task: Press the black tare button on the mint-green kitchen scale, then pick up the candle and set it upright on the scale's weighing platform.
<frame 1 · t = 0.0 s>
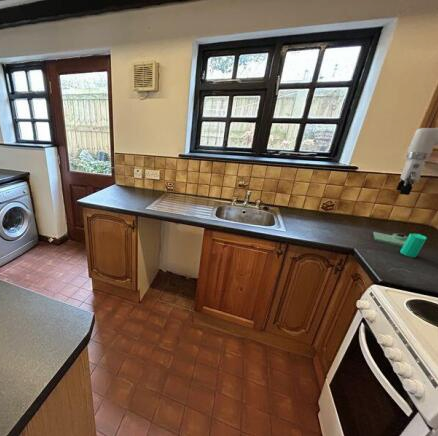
hand: (402, 192, 118), 31 cm above the countertop, tool pointing down, fingers open, 9 cm apart
scale: (389, 240, 138), on the countertop
tare button: (400, 234, 138), point 4 cm above the countertop, slide at 0.1 cm
candle: (407, 254, 124), on the countertop
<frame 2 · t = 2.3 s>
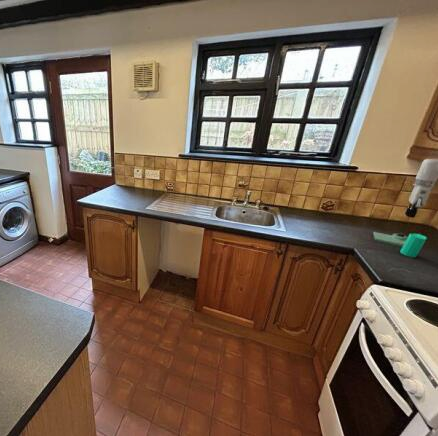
hand: (409, 215, 133), 15 cm above the countertop, tool pointing down, fingers closed
nothing on the countertop moved.
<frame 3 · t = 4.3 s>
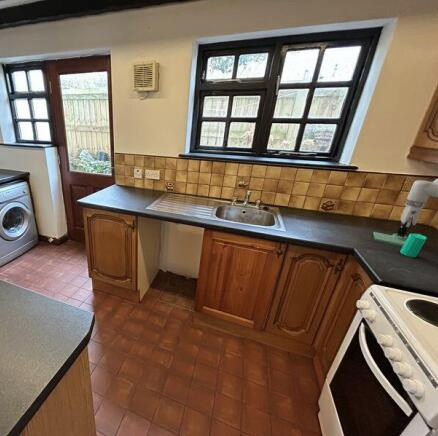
hand: (400, 234, 137), 4 cm above the countertop, tool pointing down, fingers closed
tare button: (400, 235, 138), point 3 cm above the countertop, slide at -0.4 cm, touching gripper
everything else where it was.
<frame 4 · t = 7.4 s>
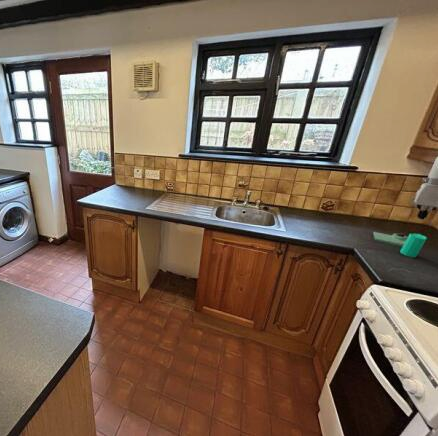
hand: (420, 218, 120), 18 cm above the countertop, tool pointing down, fingers closed
tare button: (400, 234, 138), point 4 cm above the countertop, slide at 0.1 cm
everything else where it was.
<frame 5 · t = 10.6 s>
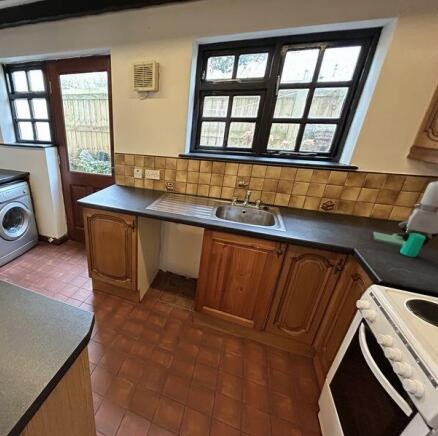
hand: (413, 242, 121), 7 cm above the countertop, tool pointing down, fingers closed on candle, 6 cm apart
candle: (407, 254, 124), on the countertop, touching gripper
everything else where it was.
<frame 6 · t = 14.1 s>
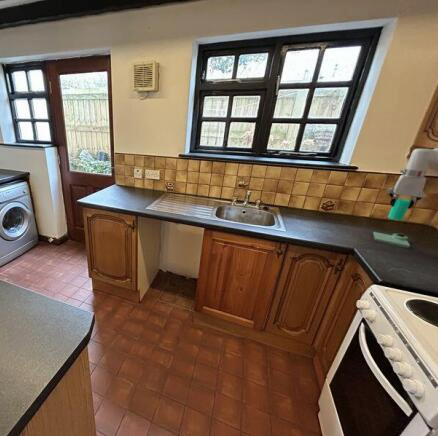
hand: (400, 206, 131), 21 cm above the countertop, tool pointing down, fingers closed on candle, 6 cm apart
candle: (394, 218, 133), point 14 cm above the countertop, touching gripper
everything else where it was.
when the fingers open (8 cm above the countertop, at t = 17.6 s): candle stays where it is, resting on scale.
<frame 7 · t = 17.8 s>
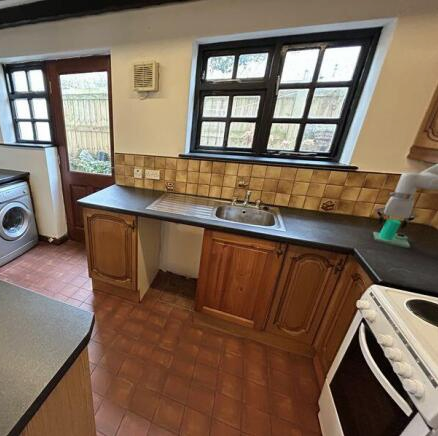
hand: (390, 225, 136), 9 cm above the countertop, tool pointing down, fingers open, 8 cm apart
candle: (385, 237, 139), point 1 cm above the countertop, touching scale
everything else where it was.
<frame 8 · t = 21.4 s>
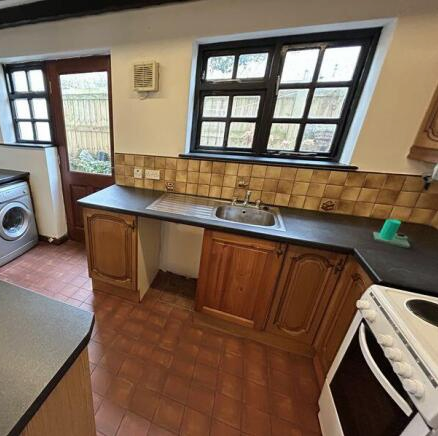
nothing on the countertop moved.
at the end: tare button pushed in 0.9 cm at the most during the clip, back to where it started at the end; candle inside the target area on the scale (2.4 cm from its centre), point 1.4 cm above the scale's base; candle tilted 3° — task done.
